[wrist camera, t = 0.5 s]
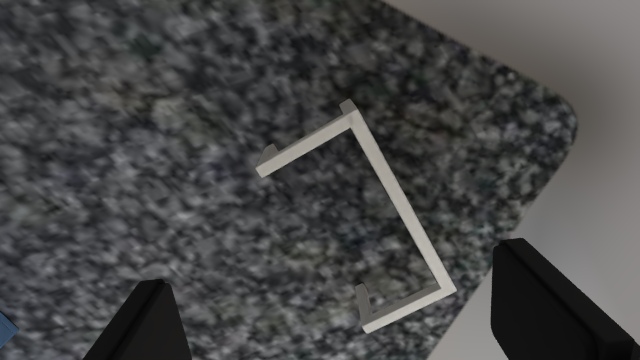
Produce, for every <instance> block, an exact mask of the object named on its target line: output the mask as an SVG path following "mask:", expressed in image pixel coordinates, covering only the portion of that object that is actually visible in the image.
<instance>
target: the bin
mask: <svg viewBox="0 0 640 360" xmlns="http://www.w3.org/2000/svg"><path fill="white" fill-rule="evenodd" d="M18 331H19V329H18V328H17V327H16V326H15V325H14V324H13V323H11V322H10V321H9V320H8V319H7V318H6V317H5V316H4V315H3V314H2V313H1V312H0V348H1V347H2V346H3V345H4V344H5V343H6V342H7V341H8V340H9V339H10V338H11V337H12V336H13V335H14V334H16V333H17V332H18Z"/></svg>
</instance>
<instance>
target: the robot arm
mask: <svg viewBox="0 0 640 360" xmlns="http://www.w3.org/2000/svg"><path fill="white" fill-rule="evenodd" d="M491 329H492V332H493V335H494V337H495V338H496V340H497V342H498V343H499V345H500V346H501V348H502V350H503V351H504V353H505V355H506V356H507V358H508V359H509V360H640V346H639V345H638V344H637V343H636V342H635V341H634V339H633V338H632V337H631V336H630V335H629V334H628V333H627V332H626V331H625V330H623V329H622V328H621V327H620V326H619V325H618V324H617V323H616V322H615V321H614V320H612V319H611V318H610V317H609V316H608V315H607V314H606V313H605V312H604V311H603V310H602V309H600V308H599V307H598V306H597V305H596V304H595V303H594V302H593V301H592V300H591V299H590V298H588V297H587V296H586V295H585V294H584V293H583V292H582V291H581V290H580V289H578V288H577V287H576V286H575V285H574V284H573V283H572V282H571V281H570V280H569V279H567V278H566V277H565V276H564V275H563V274H562V273H561V272H560V271H559V270H558V269H557V268H556V267H555V266H553V265H552V264H551V263H550V262H549V261H548V260H547V259H546V258H545V257H543V256H542V255H541V254H540V253H539V252H538V251H537V250H536V249H535V248H534V247H533V246H532V245H530V244H529V243H528V242H527V241H526V240H525V239H523V238H516V239H507V240H501V241H500V243H499V246H495V247H494V249H493V269H492V297H491ZM83 360H192V356H191V352H190V349H189V346H188V342H187V339H186V335H185V332H184V329H183V325H182V322H181V318H180V315H179V311H178V308H177V305H176V301H175V298H174V294H173V291H172V288H171V285H170V284H169V283H165V282H164V281H163V280H162V279H155V280H146V281H140V282H139V283H138V285H137V286H136V287H135V289H134V290H133V291H132V293H131V294H130V296H129V297H128V298H127V300H126V301H125V302H124V304H123V305H122V306H121V308H120V309H119V311H118V312H117V313H116V315H115V316H114V317H113V319H112V320H111V321H110V323H109V324H108V326H107V327H106V328H105V330H104V331H103V332H102V334H101V335H100V336H99V338H98V339H97V340H96V342H95V343H94V345H93V346H92V347H91V349H90V350H89V351H88V353H87V354H86V355H85V357H84V358H83Z"/></svg>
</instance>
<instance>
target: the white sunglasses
mask: <svg viewBox="0 0 640 360" xmlns="http://www.w3.org/2000/svg"><path fill="white" fill-rule="evenodd" d="M339 106H340V108H341V110H342V112H343V115H341V116H339V117H338V118H336V119H334V120H332V121H331V122H329V123H327V124H326V125H324V126H322V127H320V128H319V129H317V130H315V131H313V132H312V133H310V134H308V135H307V136H305V137H303V138H301V139H300V140H298V141H296V142H295V143H293V144H291V145H289V146H288V147H286V148H284V149H282V150H281V151H279V152H278V150H277V148H276V147H275V145H274V144H271V145H269V146H267V147H266V148H265V149H264V151H263V153H262V155H261V157H260V159H259V162H258V164H257V165H256V167H255V169H256V170H257V172H258V173H259V175H260V176H261V177H262V178H263V177H265V176H266V175H268V174H270V173H272V172H273V171H275V170H277V169H279V168H280V167H282V166H284V165H286V164H287V163H289V162H291V161H293V160H294V159H296V158H298V157H300V156H301V155H303V154H305V153H307V152H308V151H310V150H312V149H314V148H315V147H317V146H319V145H321V144H322V143H324V142H326V141H328V140H329V139H331V138H333V137H335V136H336V135H338V134H340V133H342V132H343V131H345V130H347V129H348V128H350V129H351V131H352V133H353V134H354V136H355V138H356V140H357V141H358V143H359V145H360V147H361V149H362V150H363V152H364V154H365V156H366V157H367V159H368V161H369V163H370V165H371V166H372V168H373V170H374V172H375V173H376V175H377V177H378V179H379V181H380V182H381V184H382V186H383V188H384V189H385V191H386V193H387V195H388V196H389V198H390V199H391V200H392V202H393V204H394V206H395V208H396V210H397V212H398V214H399V216H400V217H401V219H402V221H403V223H404V225H405V227H406V228H407V230H408V232H409V234H410V236H411V237H412V239H413V241H414V243H415V244H416V246H417V248H418V250H419V251H420V253H421V255H422V257H423V259H424V260H425V262H426V264H427V266H428V267H429V269H430V271H431V273H432V275H433V276H434V278H435V280H436V282H437V283H436V284H433V285H431V286H429V287H427V288H425V289H423V290H421V291H419V292H417V293H415V294H413V295H411V296H409V297H407V298H405V299H403V300H400V301H398V302H396V303H394V304H392V305H390V306H388V307H386V308H384V309H382V310H380V311H378V312H376V313H374V314H372V310H371V306H370V301H369V297H368V293H367V289H366V287H365V286H364V284H363V283H361V284H359V285H357V286H356V287H355V290H356V295H357V301H358V307H359V312H360V318H361V324H362V328H363V329H364V331H365V332H366V334H368V333H370V332H372V331H374V330H376V329H378V328H381V327H383V326H385V325H387V324H389V323H391V322H393V321H395V320H397V319H399V318H401V317H404V316H406V315H408V314H410V313H412V312H414V311H416V310H418V309H420V308H422V307H425V306H427V305H429V304H431V303H433V302H435V301H437V300H439V299H441V298H443V297H445V296H448V295H450V294H451V293H454V292H456V291H457V289H456V288H455V286H454V284H453V282H452V280H451V277H450V275H449V274H448V272H447V270H446V268H445V266H444V264H443V263H442V261H441V259H440V257H439V255H438V254H437V252H436V250H435V248H434V246H433V244H432V243H431V241H430V239H429V237H428V235H427V233H426V232H425V230H424V228H423V226H422V224H421V222H420V221H419V219H418V217H417V215H416V213H415V212H414V210H413V209H412V207H411V205H410V204H409V202H408V200H407V198H406V196H405V194H404V193H403V190H402V188H401V186H400V184H399V182H398V180H397V179H396V177H395V175H394V173H393V171H392V169H391V168H390V166H389V164H388V162H387V160H386V158H385V157H384V155H383V153H382V151H381V149H380V147H379V146H378V144H377V142H376V140H375V138H374V136H373V135H372V133H371V131H370V129H369V127H368V125H367V124H366V122H365V120H364V118H363V116H362V115H361V114H360V112H359V110H358V109H357V107H356V106H355V105H354V103H353V102H352V101H351V99H347V100H346V101H344V102H342V103H341V104H339Z"/></svg>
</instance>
